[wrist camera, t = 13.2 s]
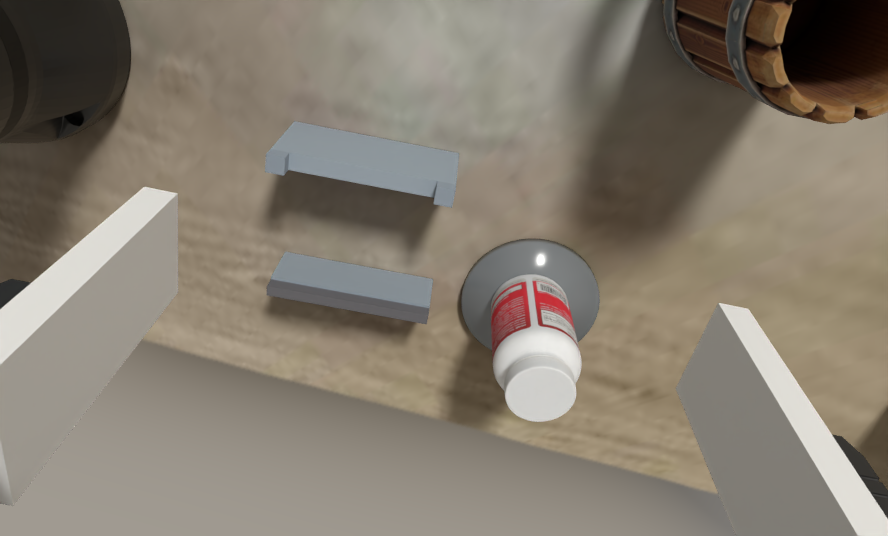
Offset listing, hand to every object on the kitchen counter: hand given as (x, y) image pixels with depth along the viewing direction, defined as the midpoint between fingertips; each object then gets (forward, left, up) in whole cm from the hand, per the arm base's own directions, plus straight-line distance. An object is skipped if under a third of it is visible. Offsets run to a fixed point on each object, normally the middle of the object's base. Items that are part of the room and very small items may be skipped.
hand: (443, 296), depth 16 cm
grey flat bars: (-5, -13, -32) cm, 35 cm away
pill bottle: (+9, -18, -31) cm, 37 cm away
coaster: (+9, -18, -31) cm, 37 cm away
